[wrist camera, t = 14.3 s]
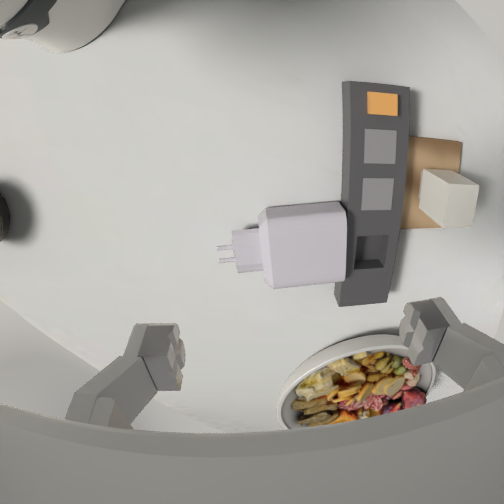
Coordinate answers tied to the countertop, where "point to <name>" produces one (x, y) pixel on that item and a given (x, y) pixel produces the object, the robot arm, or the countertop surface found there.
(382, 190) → the power strip
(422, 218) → the cork mat
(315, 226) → the charger
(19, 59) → the countertop surface
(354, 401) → the bowl
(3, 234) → the jar
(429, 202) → the charger
